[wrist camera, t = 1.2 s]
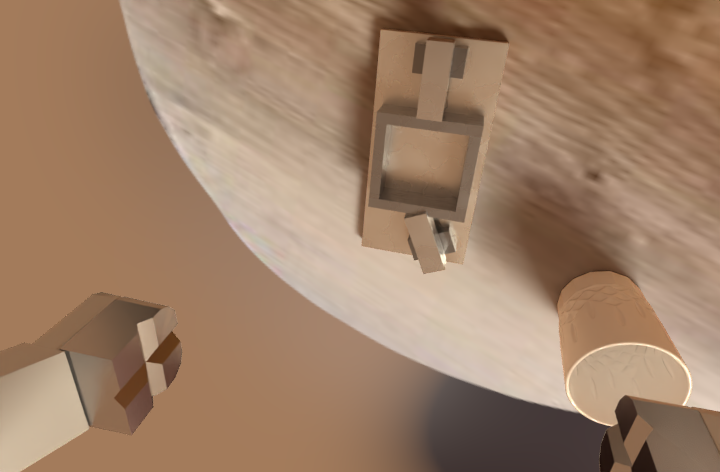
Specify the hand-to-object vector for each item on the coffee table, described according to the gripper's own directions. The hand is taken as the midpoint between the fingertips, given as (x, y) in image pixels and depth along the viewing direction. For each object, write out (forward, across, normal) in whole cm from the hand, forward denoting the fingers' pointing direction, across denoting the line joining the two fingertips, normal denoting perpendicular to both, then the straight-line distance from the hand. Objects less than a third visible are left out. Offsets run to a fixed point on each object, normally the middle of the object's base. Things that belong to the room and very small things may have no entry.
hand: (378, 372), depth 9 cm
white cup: (+32, -15, +18) cm, 39 cm away
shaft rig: (+32, +2, +7) cm, 32 cm away
